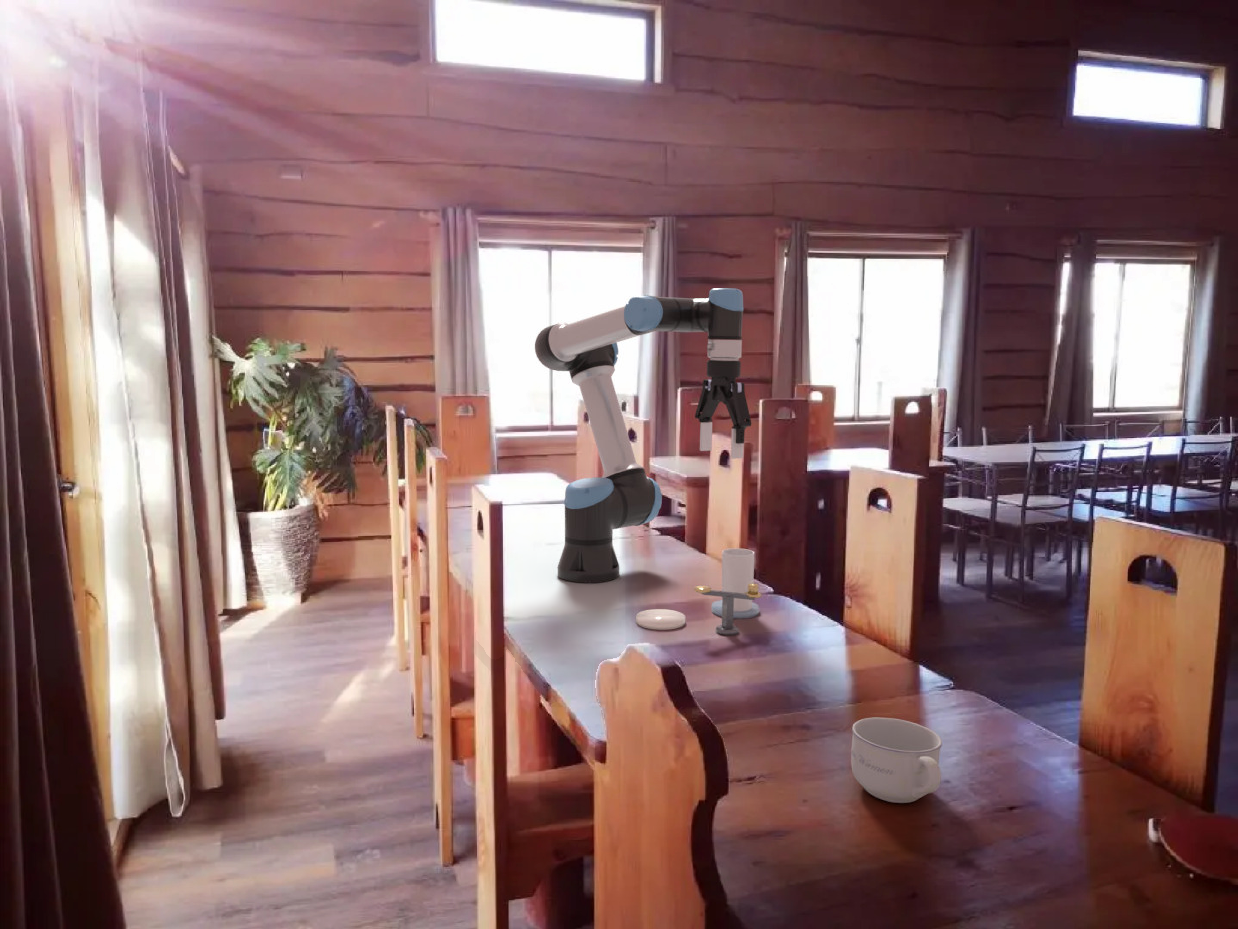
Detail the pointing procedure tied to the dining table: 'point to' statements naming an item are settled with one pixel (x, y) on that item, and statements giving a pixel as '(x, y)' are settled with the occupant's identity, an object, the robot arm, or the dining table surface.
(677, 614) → the dish cream
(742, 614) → the dish blue
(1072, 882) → the dining table surface
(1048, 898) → the dining table surface
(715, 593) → the balance
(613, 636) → the dining table surface
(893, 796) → the teacup
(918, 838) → the dining table surface
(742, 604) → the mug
